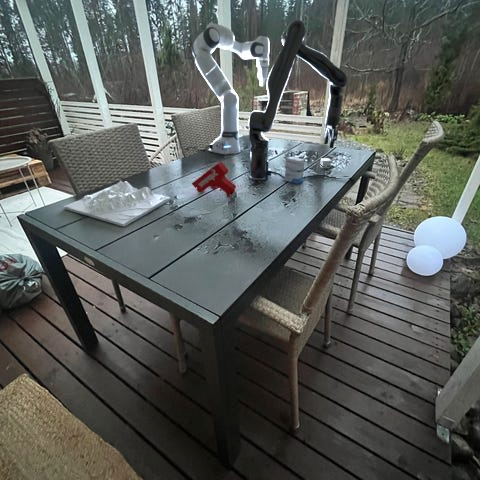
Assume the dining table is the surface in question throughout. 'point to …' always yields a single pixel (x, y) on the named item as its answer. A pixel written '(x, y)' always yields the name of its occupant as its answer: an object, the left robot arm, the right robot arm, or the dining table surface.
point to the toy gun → (215, 180)
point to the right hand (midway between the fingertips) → (328, 146)
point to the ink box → (294, 170)
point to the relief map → (118, 203)
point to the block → (325, 162)
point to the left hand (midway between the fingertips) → (261, 86)
